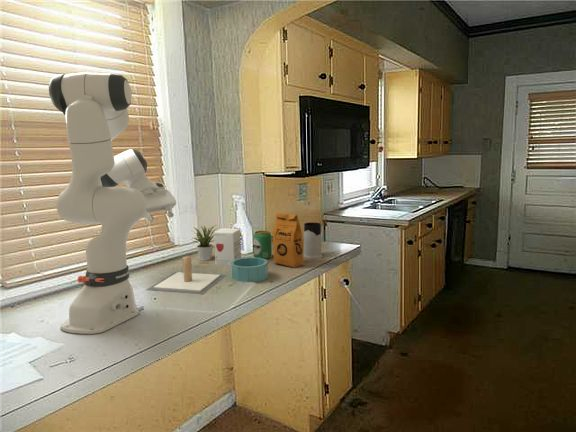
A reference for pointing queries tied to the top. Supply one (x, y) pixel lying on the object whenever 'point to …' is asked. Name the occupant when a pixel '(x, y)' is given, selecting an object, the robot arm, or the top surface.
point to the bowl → (249, 269)
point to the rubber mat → (187, 291)
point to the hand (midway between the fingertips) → (162, 218)
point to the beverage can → (262, 245)
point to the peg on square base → (187, 279)
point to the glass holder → (312, 240)
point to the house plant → (204, 244)
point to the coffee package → (287, 241)
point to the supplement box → (227, 246)
